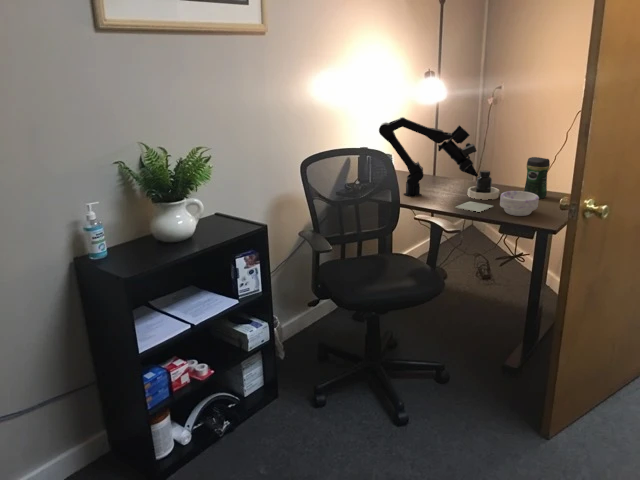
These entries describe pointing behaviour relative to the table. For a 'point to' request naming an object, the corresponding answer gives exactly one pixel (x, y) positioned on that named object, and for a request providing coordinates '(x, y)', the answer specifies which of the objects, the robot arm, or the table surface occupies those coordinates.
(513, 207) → the paper bowls
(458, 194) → the table surface
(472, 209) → the mat
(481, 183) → the supplement bottle
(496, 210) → the table surface
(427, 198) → the table surface
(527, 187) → the coffee jar
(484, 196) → the ring holder
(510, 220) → the table surface
